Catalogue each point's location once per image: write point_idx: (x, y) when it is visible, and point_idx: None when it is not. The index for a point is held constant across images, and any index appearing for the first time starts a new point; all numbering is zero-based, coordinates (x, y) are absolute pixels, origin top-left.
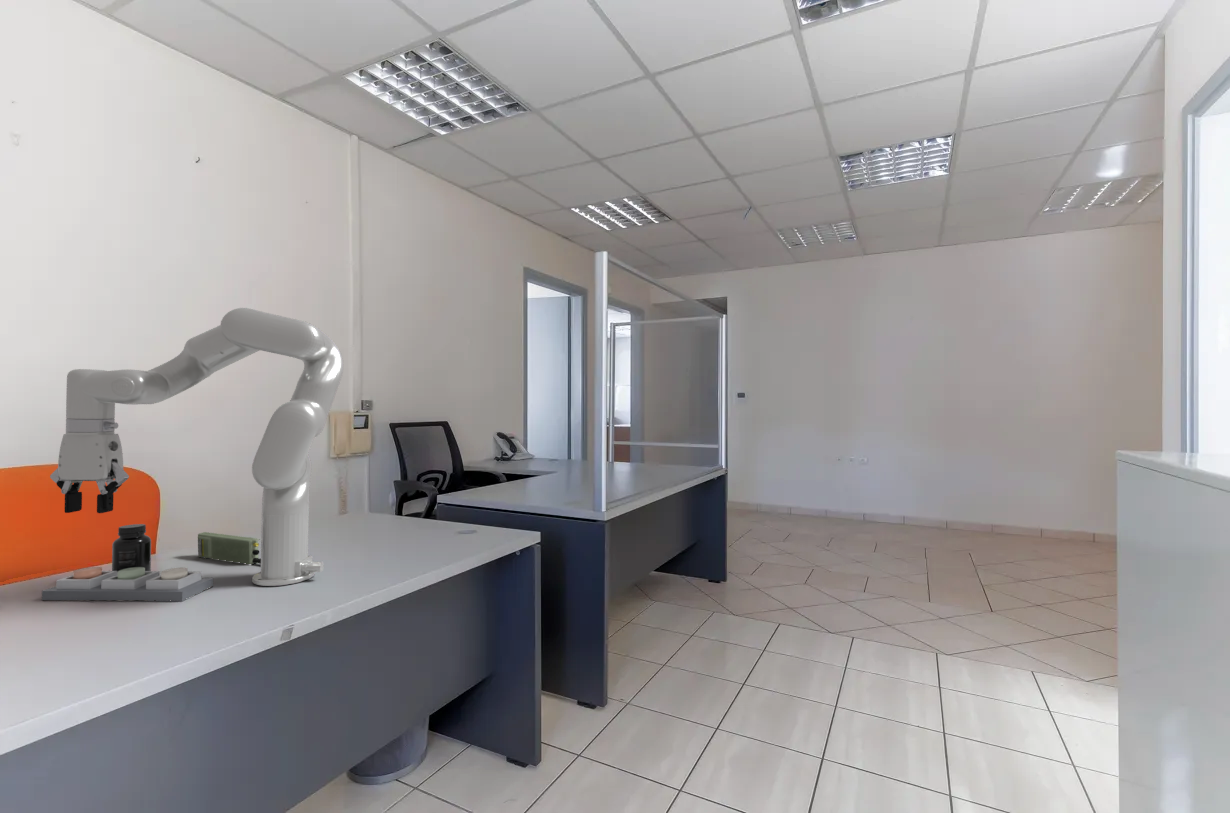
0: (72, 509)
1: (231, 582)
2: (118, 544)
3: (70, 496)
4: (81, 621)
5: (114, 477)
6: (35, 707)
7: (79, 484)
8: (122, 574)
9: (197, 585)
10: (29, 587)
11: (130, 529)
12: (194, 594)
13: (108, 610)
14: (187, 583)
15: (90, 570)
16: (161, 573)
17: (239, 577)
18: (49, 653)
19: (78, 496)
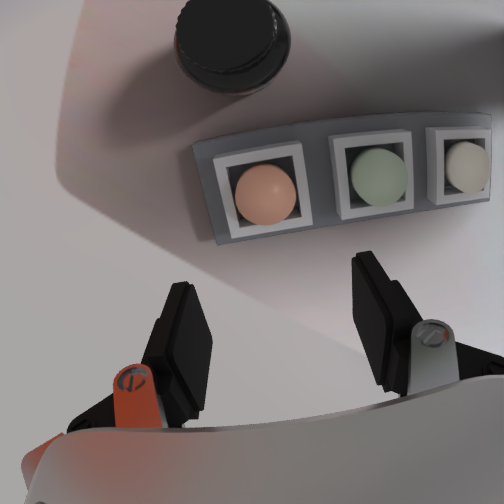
0: (205, 331)
1: (488, 82)
2: (237, 91)
3: (200, 397)
4: None
5: (450, 393)
6: None
7: (165, 421)
8: (382, 205)
9: (491, 161)
10: (95, 180)
11: (259, 58)
12: None
13: (398, 251)
14: None
15: (279, 201)
16: (459, 188)
17: (480, 48)
18: None
19: (183, 355)
